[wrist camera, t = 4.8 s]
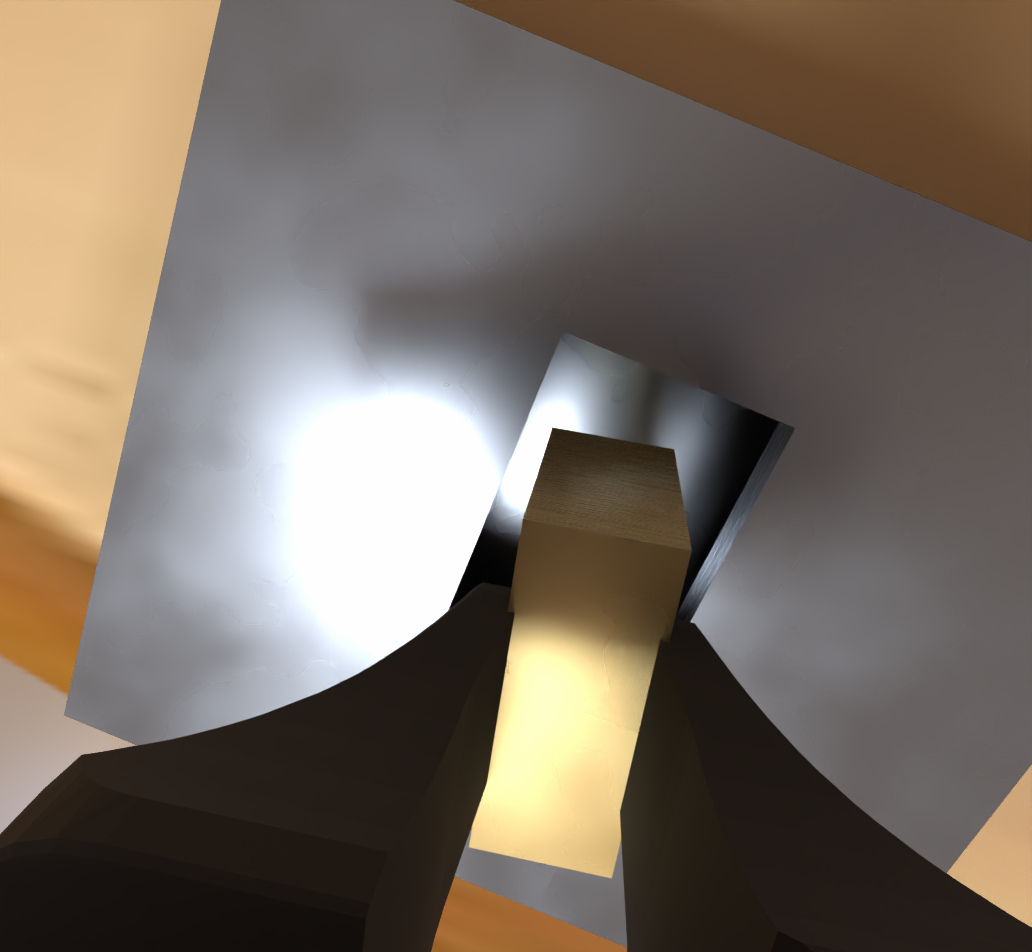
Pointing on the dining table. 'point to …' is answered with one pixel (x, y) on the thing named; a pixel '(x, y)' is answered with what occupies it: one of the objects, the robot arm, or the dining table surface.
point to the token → (582, 647)
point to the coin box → (567, 404)
